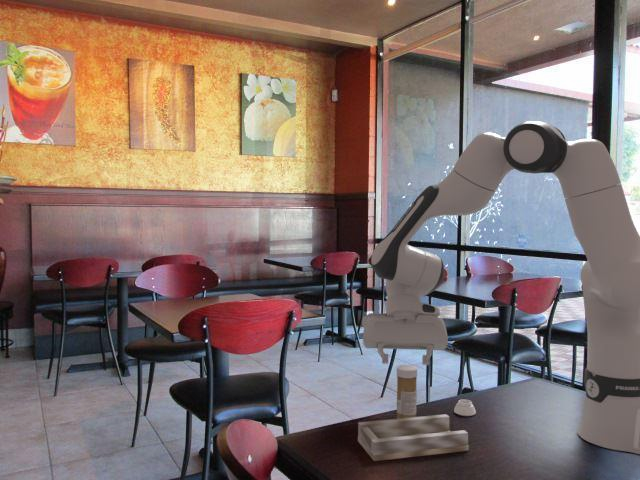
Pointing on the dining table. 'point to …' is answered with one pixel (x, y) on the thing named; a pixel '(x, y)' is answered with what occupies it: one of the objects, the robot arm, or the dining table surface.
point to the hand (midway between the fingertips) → (405, 363)
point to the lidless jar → (465, 408)
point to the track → (410, 437)
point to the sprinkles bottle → (406, 391)
